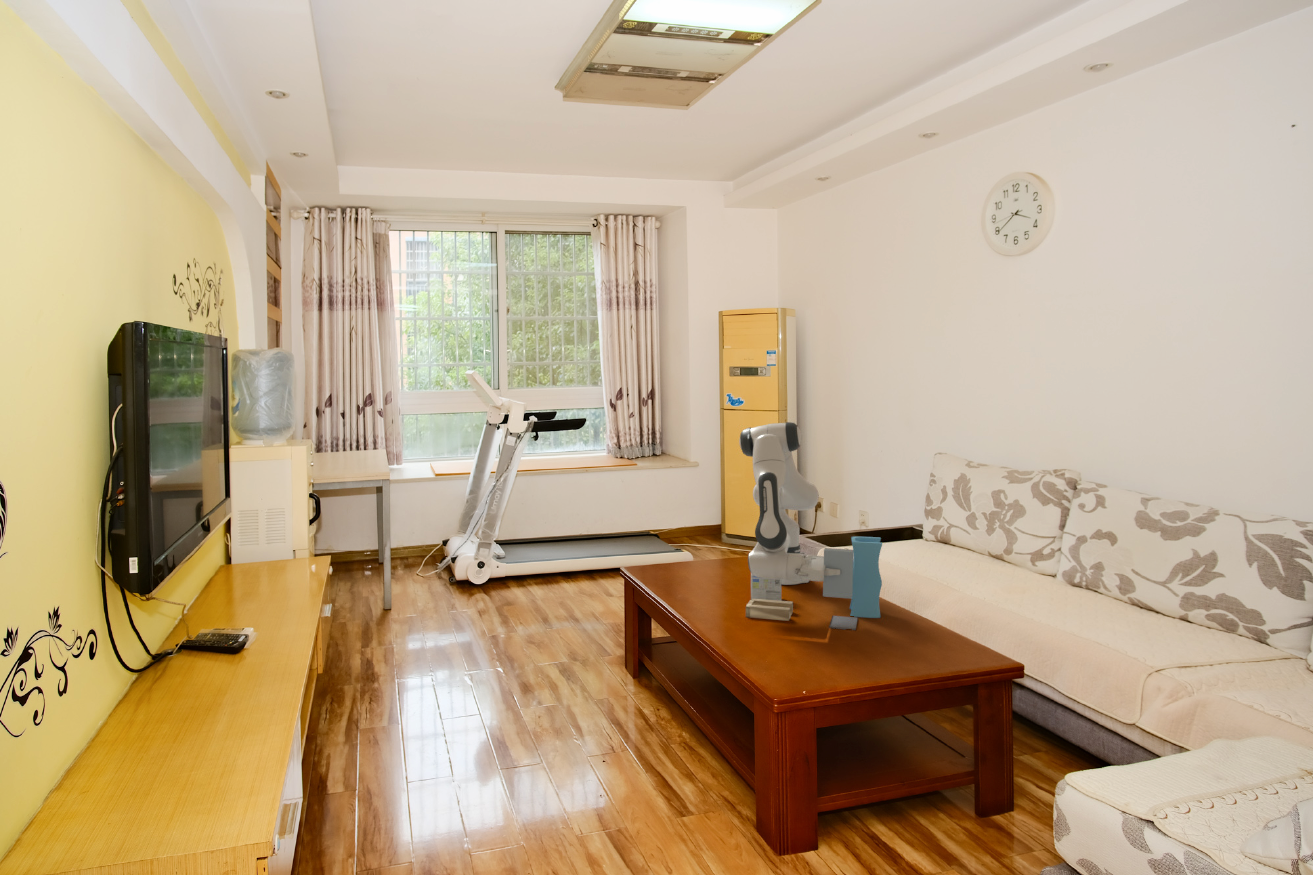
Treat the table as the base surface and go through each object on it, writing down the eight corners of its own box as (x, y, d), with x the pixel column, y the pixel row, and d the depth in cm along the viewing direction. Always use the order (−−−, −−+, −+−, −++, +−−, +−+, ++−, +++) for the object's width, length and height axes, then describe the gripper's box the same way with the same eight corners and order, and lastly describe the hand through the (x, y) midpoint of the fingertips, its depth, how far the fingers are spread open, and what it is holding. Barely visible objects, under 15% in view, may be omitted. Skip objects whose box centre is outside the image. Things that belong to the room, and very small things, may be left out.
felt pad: (820, 616, 279) (820, 614, 279) (857, 619, 276) (857, 617, 275) (816, 626, 267) (816, 625, 267) (855, 630, 264) (855, 628, 264)
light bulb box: (780, 600, 299) (781, 570, 298) (781, 605, 292) (782, 574, 291) (750, 599, 300) (750, 569, 299) (750, 604, 293) (751, 574, 292)
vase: (880, 618, 277) (882, 543, 275) (850, 616, 279) (851, 542, 277) (879, 609, 286) (880, 537, 284) (849, 608, 288) (850, 536, 286)
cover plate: (824, 593, 274) (824, 548, 273) (852, 595, 271) (853, 549, 270) (822, 596, 270) (823, 550, 269) (851, 598, 268) (852, 552, 267)
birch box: (751, 611, 284) (751, 598, 284) (792, 614, 280) (792, 601, 280) (745, 619, 275) (745, 606, 274) (788, 623, 271) (788, 609, 271)
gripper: (793, 564, 263) (838, 567, 260) (801, 551, 283) (843, 554, 279) (793, 584, 264) (838, 587, 260) (801, 569, 284) (843, 572, 280)
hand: (841, 570), depth 270 cm, fingers closed on cover plate, 4 cm apart
